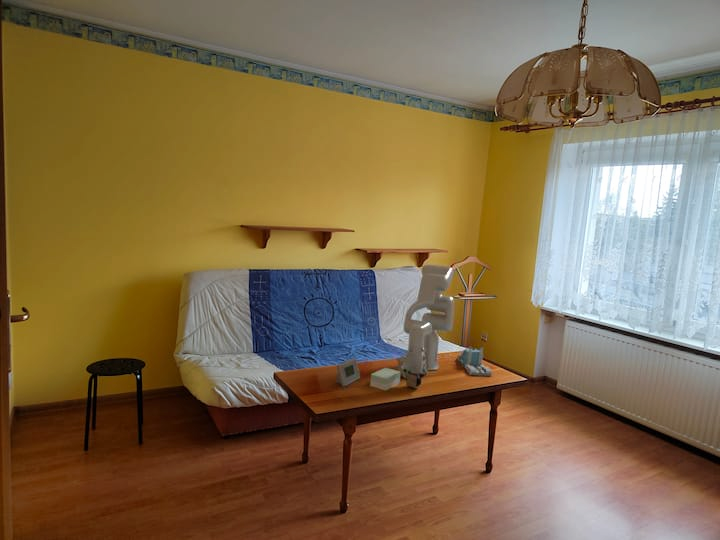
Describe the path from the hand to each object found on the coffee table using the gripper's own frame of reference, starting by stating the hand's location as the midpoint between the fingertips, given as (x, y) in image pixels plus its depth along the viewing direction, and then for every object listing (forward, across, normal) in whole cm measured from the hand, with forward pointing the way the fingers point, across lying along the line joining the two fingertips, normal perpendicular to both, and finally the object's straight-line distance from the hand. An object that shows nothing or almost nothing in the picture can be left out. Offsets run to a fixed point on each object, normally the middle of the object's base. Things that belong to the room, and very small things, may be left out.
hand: (413, 383), depth 233 cm
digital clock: (+2, +28, +16) cm, 33 cm away
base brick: (+2, +13, +6) cm, 14 cm away
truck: (+4, -11, -54) cm, 55 cm away
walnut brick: (+1, 0, 0) cm, 1 cm away
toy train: (+3, +9, -15) cm, 18 cm away
